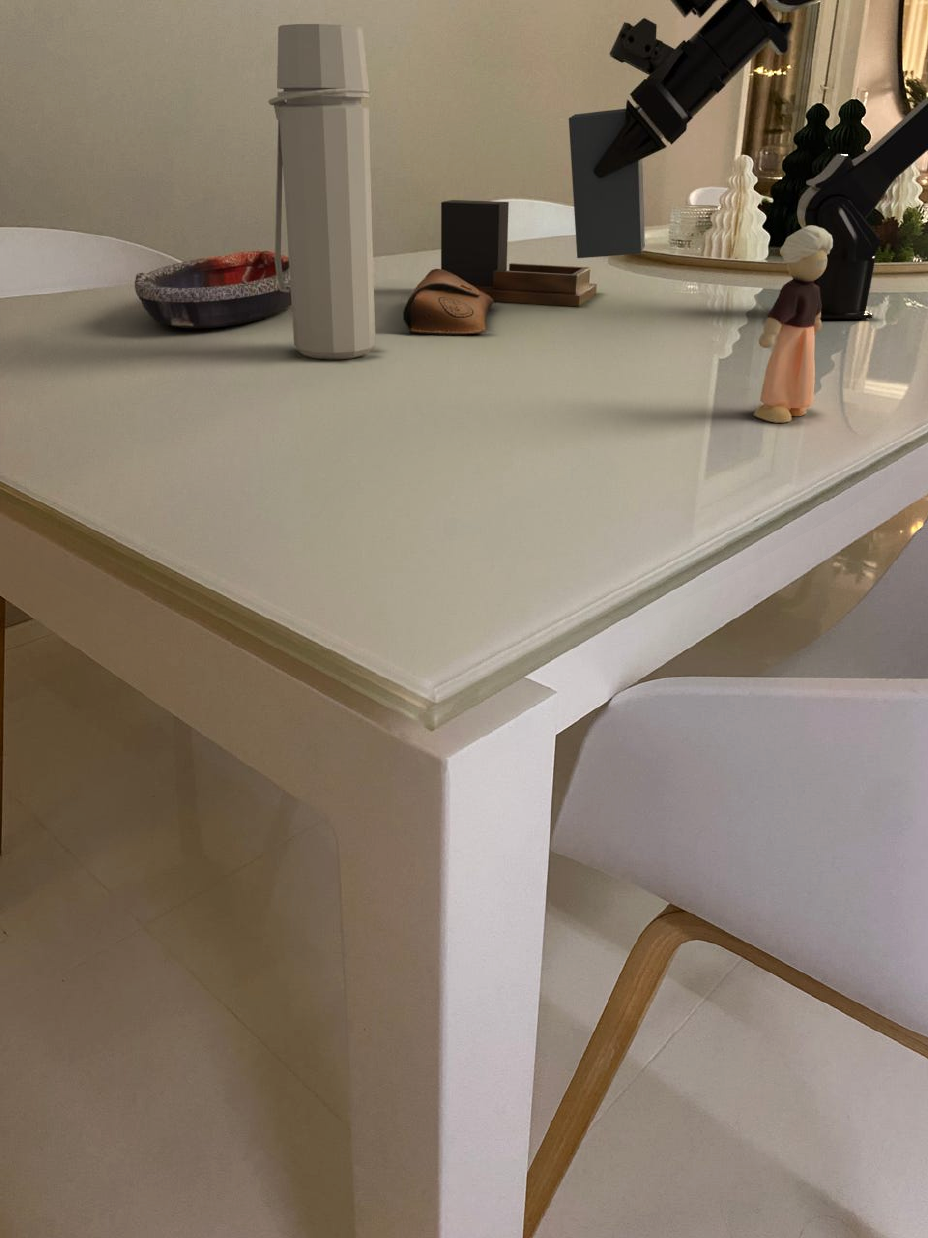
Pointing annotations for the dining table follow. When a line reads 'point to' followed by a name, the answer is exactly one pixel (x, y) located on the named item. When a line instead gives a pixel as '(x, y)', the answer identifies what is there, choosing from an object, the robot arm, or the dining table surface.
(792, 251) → the grandmother figurine
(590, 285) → the pad cradle
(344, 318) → the water bottle
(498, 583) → the dining table surface
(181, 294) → the dish
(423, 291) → the sunglasses case
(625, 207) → the back pad
